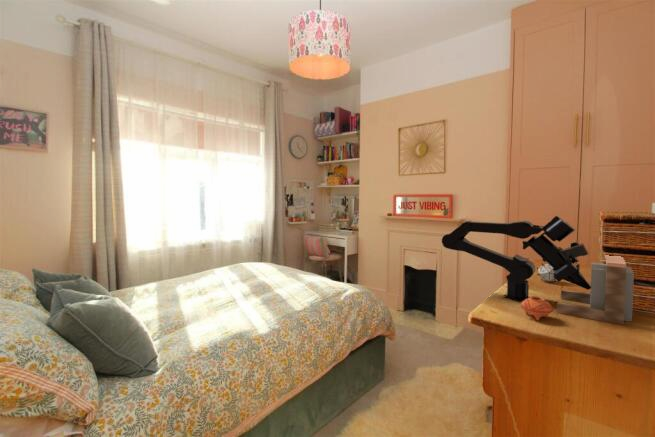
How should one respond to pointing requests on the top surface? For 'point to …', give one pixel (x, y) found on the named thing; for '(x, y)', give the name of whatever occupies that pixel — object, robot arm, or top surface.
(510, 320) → the top surface
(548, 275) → the game die
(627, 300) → the tall block
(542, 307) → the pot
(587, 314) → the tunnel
